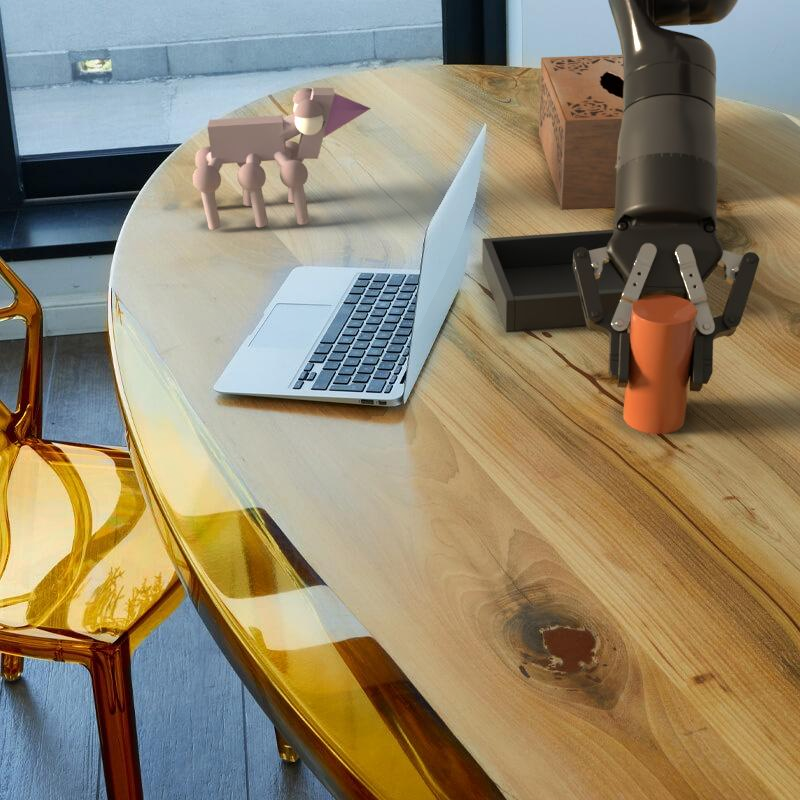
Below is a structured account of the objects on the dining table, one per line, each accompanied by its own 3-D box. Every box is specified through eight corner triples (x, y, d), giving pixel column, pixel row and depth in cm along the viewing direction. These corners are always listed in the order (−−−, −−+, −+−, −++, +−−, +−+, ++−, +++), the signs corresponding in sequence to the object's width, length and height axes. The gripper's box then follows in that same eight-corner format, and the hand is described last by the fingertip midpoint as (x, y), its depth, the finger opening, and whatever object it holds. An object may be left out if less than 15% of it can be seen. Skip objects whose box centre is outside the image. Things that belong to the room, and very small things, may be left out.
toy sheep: (373, 190, 127) (367, 74, 120) (379, 225, 118) (373, 102, 111) (202, 202, 126) (186, 85, 119) (196, 238, 117) (177, 114, 110)
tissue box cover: (691, 204, 120) (701, 116, 114) (561, 209, 120) (565, 120, 115) (649, 131, 141) (655, 53, 136) (538, 134, 142) (541, 57, 137)
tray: (637, 262, 108) (640, 227, 106) (678, 326, 96) (683, 287, 94) (482, 273, 107) (482, 238, 105) (505, 339, 95) (506, 300, 93)
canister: (673, 406, 85) (685, 292, 80) (691, 438, 81) (706, 321, 76) (615, 411, 85) (624, 296, 79) (631, 443, 81) (641, 326, 75)
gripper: (572, 147, 80) (560, 370, 76) (773, 150, 78) (771, 379, 74) (571, 189, 87) (560, 394, 84) (754, 192, 85) (751, 403, 81)
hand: (659, 386), depth 79 cm, fingers closed on canister, 4 cm apart
